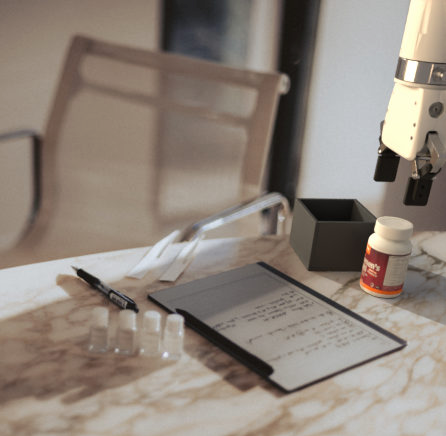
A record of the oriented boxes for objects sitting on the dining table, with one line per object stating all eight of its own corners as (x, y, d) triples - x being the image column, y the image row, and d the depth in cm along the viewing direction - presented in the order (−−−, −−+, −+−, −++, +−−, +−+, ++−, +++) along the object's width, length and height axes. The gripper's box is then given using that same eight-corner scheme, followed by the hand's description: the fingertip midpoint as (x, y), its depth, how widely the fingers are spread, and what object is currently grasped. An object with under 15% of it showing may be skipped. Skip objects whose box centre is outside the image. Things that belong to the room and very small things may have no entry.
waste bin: (347, 243, 112) (356, 198, 109) (372, 271, 102) (382, 223, 99) (288, 242, 112) (295, 197, 108) (307, 270, 102) (315, 222, 98)
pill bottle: (351, 282, 98) (364, 215, 94) (384, 278, 100) (399, 213, 95) (374, 301, 93) (389, 232, 89) (410, 297, 94) (426, 229, 90)
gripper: (490, 86, 76) (455, 216, 82) (421, 64, 92) (396, 174, 98) (431, 84, 75) (400, 215, 82) (372, 62, 91) (350, 172, 98)
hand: (398, 192), depth 90 cm, fingers open, 9 cm apart
